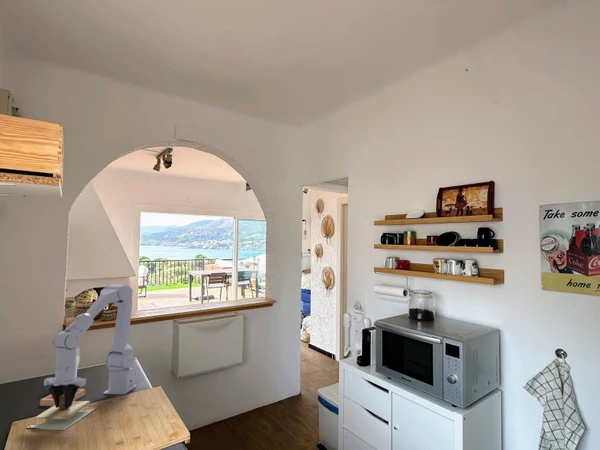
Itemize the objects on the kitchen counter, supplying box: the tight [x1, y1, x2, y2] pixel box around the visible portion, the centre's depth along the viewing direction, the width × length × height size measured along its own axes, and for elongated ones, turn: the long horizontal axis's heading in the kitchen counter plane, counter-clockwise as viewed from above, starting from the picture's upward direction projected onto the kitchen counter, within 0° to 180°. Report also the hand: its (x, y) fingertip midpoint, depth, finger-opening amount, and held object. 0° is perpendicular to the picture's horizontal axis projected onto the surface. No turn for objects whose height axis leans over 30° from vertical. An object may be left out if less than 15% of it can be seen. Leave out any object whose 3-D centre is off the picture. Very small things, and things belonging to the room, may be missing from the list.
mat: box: [26, 409, 94, 431], centre depth 110 cm, size 14×14×1 cm
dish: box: [39, 388, 86, 407], centre depth 124 cm, size 10×10×2 cm
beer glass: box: [75, 345, 81, 377], centre depth 142 cm, size 7×7×15 cm
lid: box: [34, 394, 91, 420], centre depth 111 cm, size 11×11×5 cm
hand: (63, 406), depth 110 cm, fingers closed on lid, 3 cm apart
